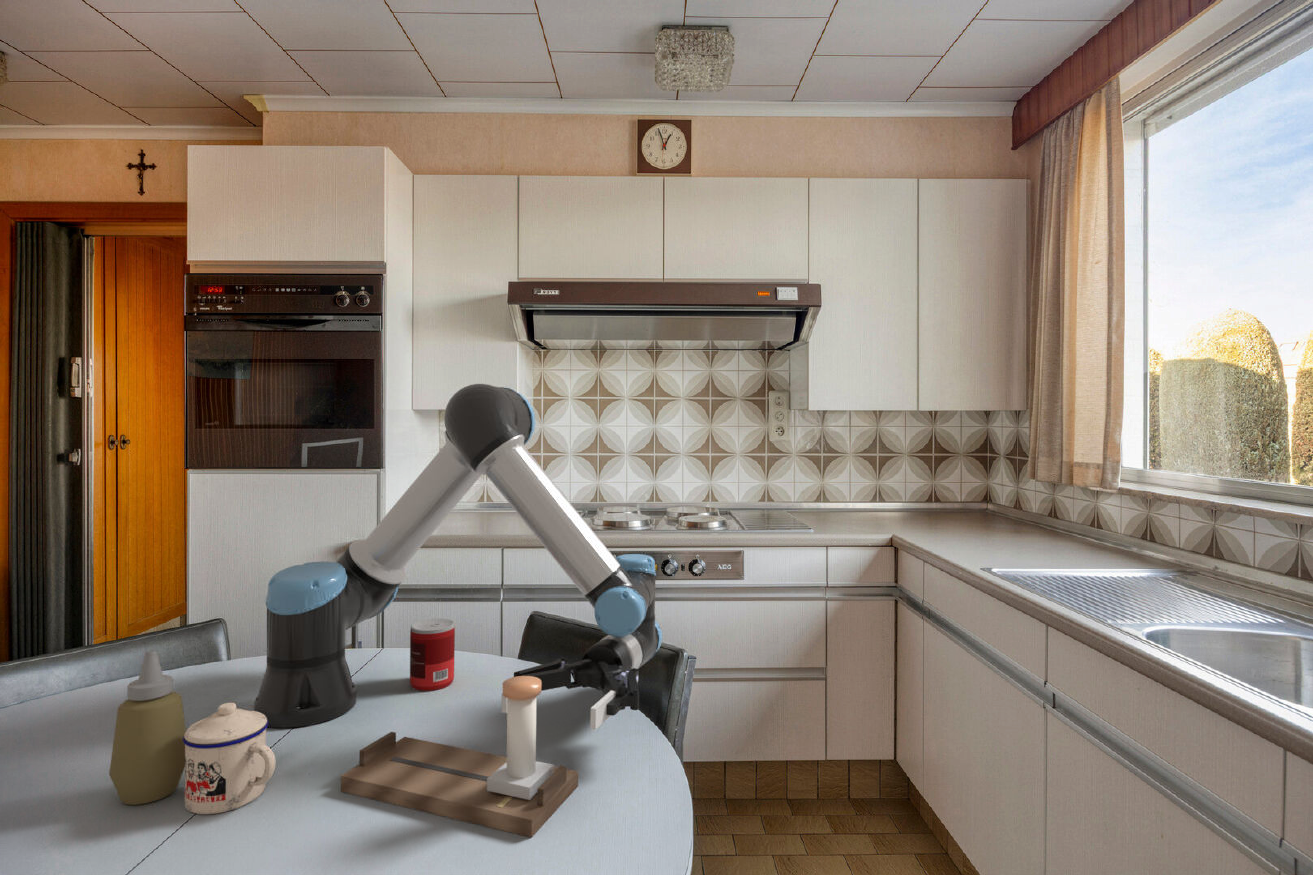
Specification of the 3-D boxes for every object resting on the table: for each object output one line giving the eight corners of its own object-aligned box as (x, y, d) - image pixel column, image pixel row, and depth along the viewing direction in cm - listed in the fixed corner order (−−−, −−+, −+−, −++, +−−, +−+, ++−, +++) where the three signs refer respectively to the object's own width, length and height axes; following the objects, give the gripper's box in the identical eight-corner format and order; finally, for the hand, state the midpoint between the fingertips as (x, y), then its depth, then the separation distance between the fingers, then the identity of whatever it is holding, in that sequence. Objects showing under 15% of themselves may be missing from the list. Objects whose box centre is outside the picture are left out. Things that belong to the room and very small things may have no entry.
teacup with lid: (163, 809, 82) (164, 714, 82) (230, 773, 91) (231, 687, 91) (240, 827, 79) (241, 728, 79) (301, 788, 87) (302, 698, 87)
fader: (486, 790, 83) (488, 687, 83) (512, 767, 89) (514, 671, 89) (529, 799, 81) (531, 694, 81) (553, 776, 87) (554, 677, 87)
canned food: (460, 676, 128) (461, 618, 128) (443, 692, 120) (443, 631, 120) (421, 674, 129) (422, 617, 128) (402, 690, 121) (402, 629, 120)
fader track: (340, 791, 87) (340, 760, 87) (404, 750, 98) (404, 722, 98) (531, 837, 78) (532, 802, 78) (577, 786, 89) (578, 756, 89)
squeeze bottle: (125, 818, 80) (126, 668, 80) (97, 798, 84) (98, 655, 84) (200, 788, 87) (201, 649, 87) (171, 771, 91) (172, 639, 91)
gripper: (683, 694, 106) (632, 754, 87) (544, 673, 115) (469, 723, 95) (684, 647, 106) (633, 696, 86) (545, 629, 115) (469, 670, 95)
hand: (547, 710), depth 91 cm, fingers open, 13 cm apart
